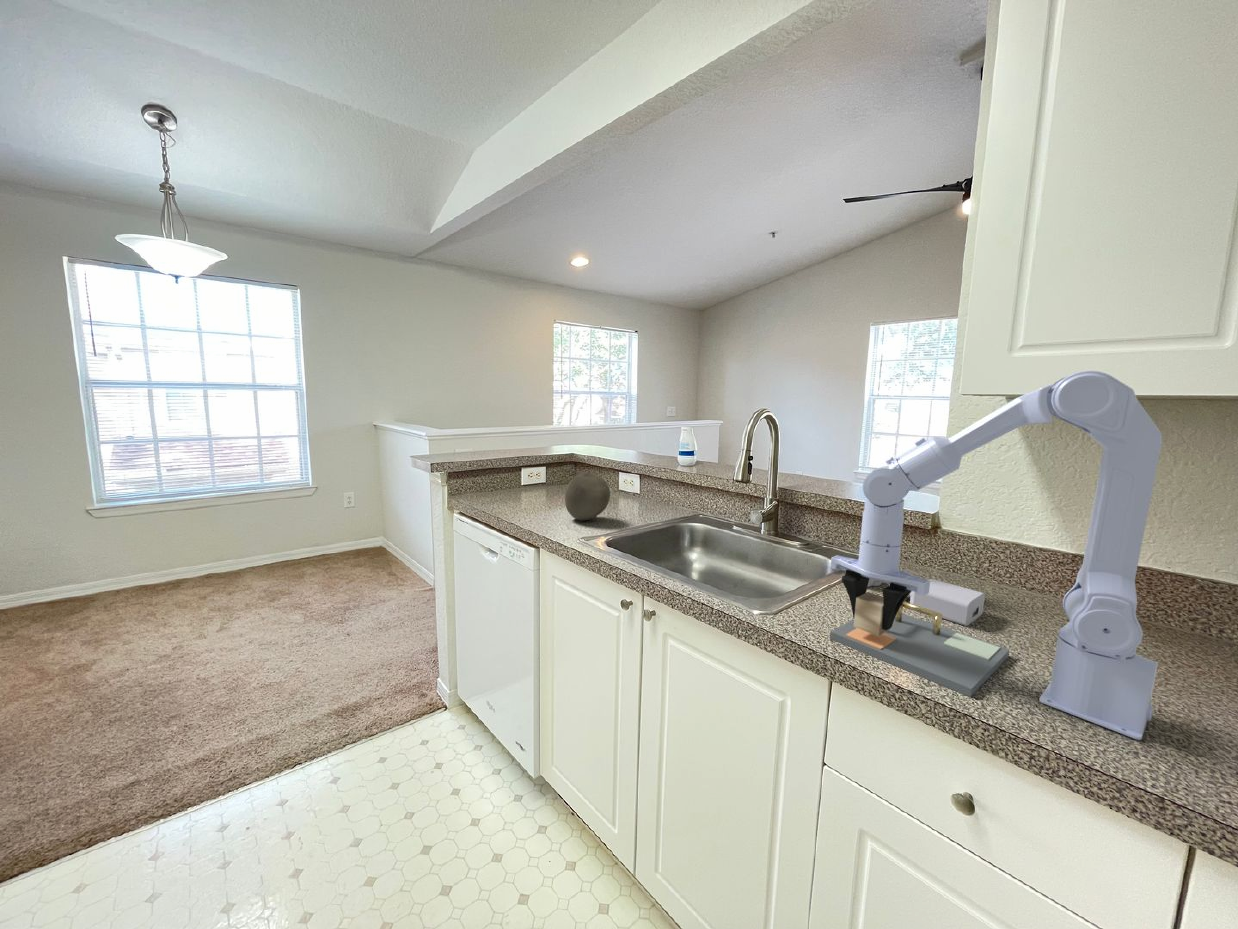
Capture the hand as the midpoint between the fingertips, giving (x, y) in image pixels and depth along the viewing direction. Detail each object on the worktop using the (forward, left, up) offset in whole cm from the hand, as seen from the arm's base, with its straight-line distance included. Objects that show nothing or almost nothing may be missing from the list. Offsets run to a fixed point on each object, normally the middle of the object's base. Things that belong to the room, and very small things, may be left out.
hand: (872, 622), depth 80 cm
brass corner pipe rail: (-3, -8, -3) cm, 8 cm away
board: (-5, -5, -4) cm, 8 cm away
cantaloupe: (+92, -7, -4) cm, 92 cm away
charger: (0, -26, -4) cm, 26 cm away
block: (0, 0, -1) cm, 1 cm away
